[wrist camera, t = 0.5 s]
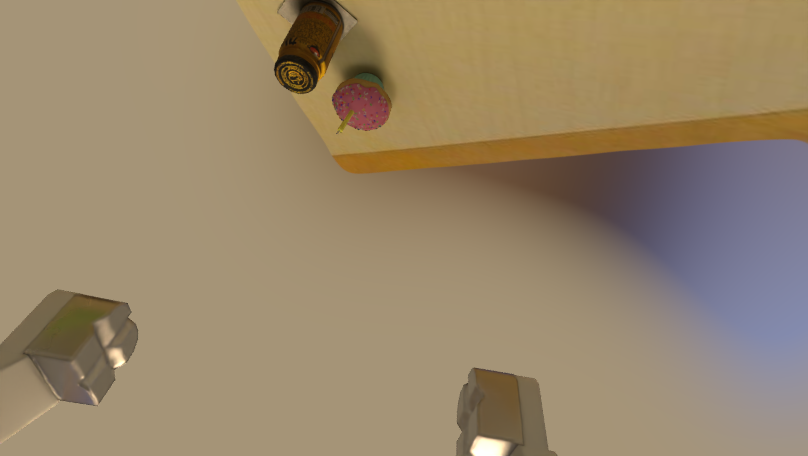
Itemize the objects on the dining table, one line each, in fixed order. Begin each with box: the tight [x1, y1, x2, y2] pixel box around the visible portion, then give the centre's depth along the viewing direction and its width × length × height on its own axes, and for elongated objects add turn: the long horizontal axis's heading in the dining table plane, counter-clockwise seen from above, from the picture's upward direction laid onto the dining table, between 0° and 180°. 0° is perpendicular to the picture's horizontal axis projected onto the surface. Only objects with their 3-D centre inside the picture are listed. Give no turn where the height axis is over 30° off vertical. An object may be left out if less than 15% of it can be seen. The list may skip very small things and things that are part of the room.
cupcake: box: [332, 73, 392, 134], centre depth 65 cm, size 9×8×12 cm
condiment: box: [274, 0, 357, 94], centre depth 57 cm, size 7×8×12 cm
